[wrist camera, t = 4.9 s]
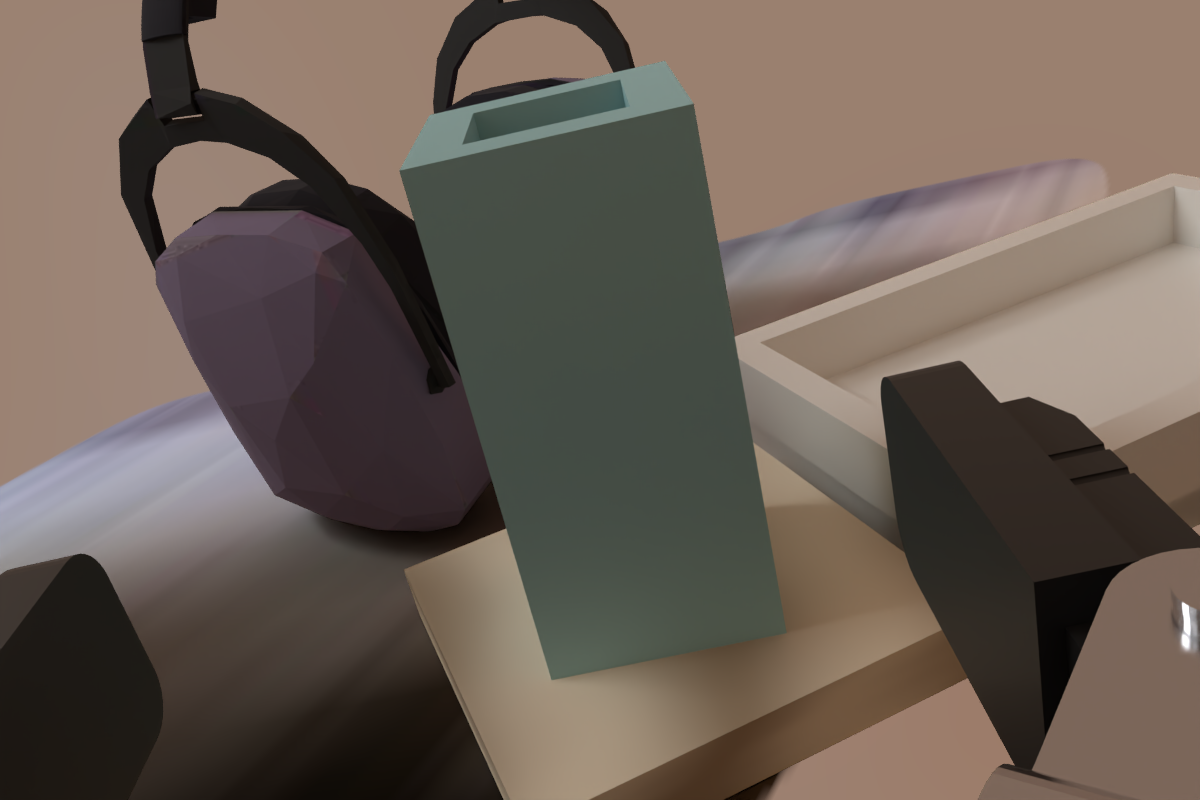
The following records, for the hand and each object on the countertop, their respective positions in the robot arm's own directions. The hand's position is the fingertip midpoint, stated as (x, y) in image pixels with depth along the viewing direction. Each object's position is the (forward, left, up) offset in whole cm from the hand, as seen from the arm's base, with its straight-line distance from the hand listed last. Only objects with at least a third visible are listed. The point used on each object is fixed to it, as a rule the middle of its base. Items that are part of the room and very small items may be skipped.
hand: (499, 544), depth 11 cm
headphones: (+5, +25, -11) cm, 27 cm away
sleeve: (+5, +10, -9) cm, 14 cm away
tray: (+20, +12, -10) cm, 25 cm away
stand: (+5, +10, -10) cm, 15 cm away
